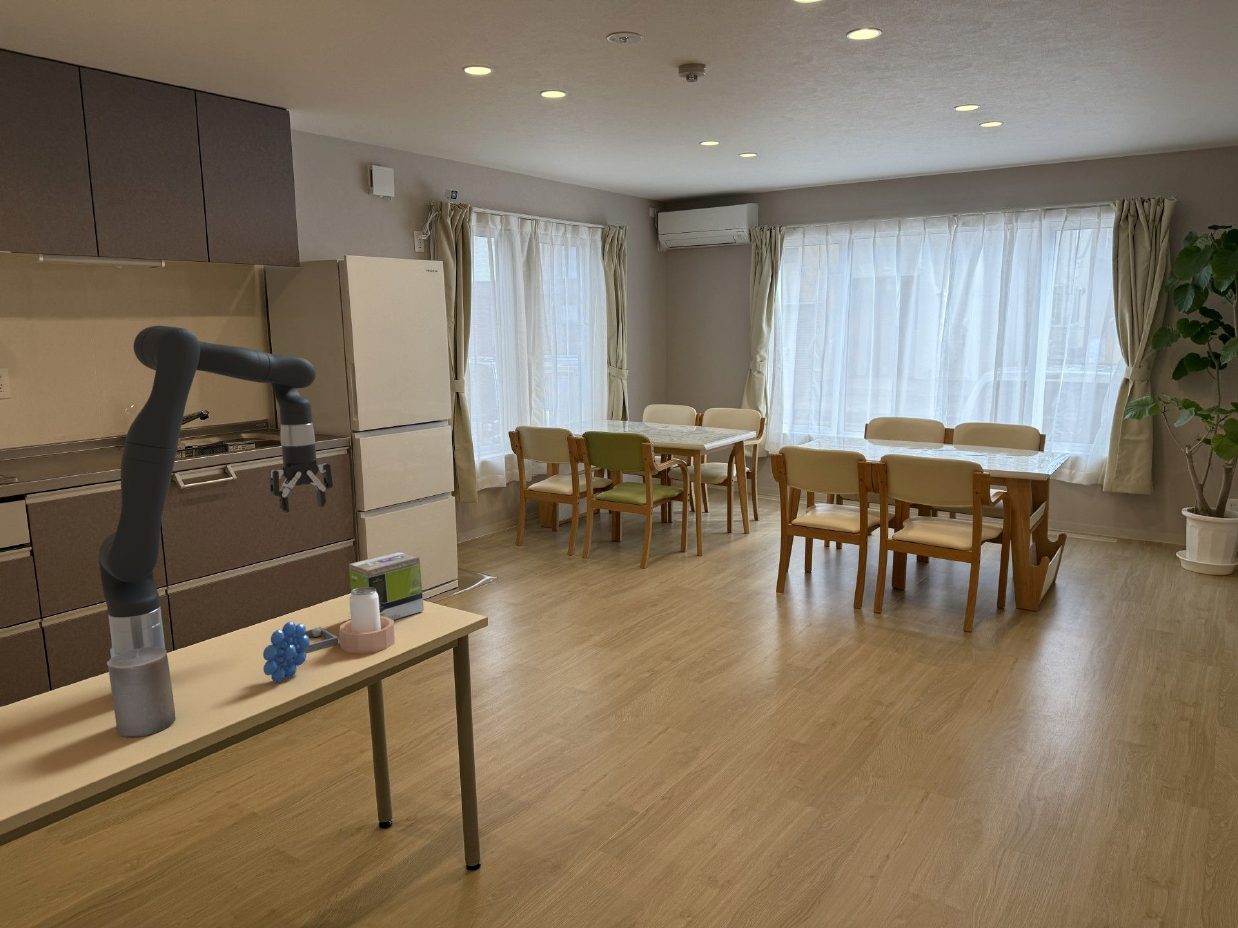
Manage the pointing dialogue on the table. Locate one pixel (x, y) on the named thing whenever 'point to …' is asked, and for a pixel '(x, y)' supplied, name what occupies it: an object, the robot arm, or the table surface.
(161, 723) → the pillar candle
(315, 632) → the pebbles
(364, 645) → the bowl
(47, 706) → the table surface
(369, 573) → the tea box
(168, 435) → the robot arm
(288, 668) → the blue lumpy cluster
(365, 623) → the can
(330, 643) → the tray
